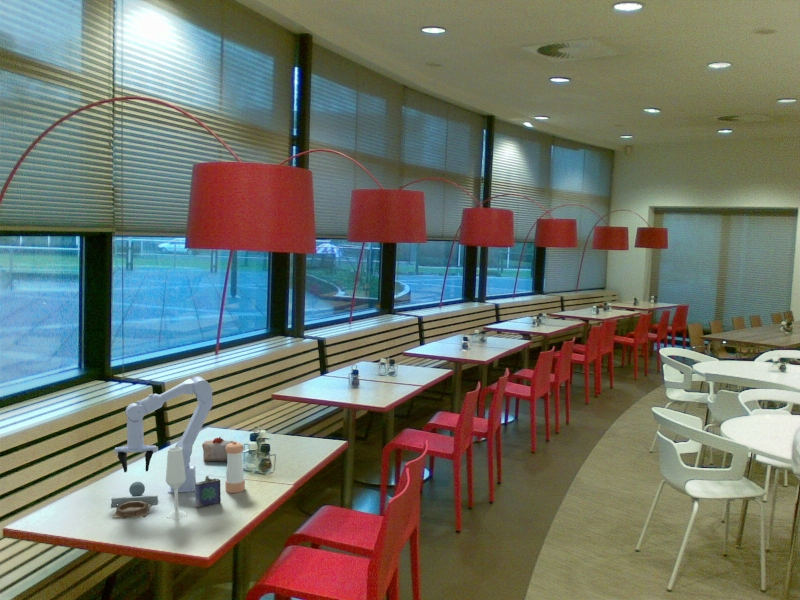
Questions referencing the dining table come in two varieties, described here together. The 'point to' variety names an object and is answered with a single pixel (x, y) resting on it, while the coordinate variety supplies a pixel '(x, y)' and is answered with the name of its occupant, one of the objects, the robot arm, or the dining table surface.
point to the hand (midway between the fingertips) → (136, 471)
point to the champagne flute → (175, 477)
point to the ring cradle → (132, 509)
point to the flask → (207, 493)
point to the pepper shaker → (234, 468)
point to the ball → (137, 489)
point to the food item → (215, 450)
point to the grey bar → (134, 499)
